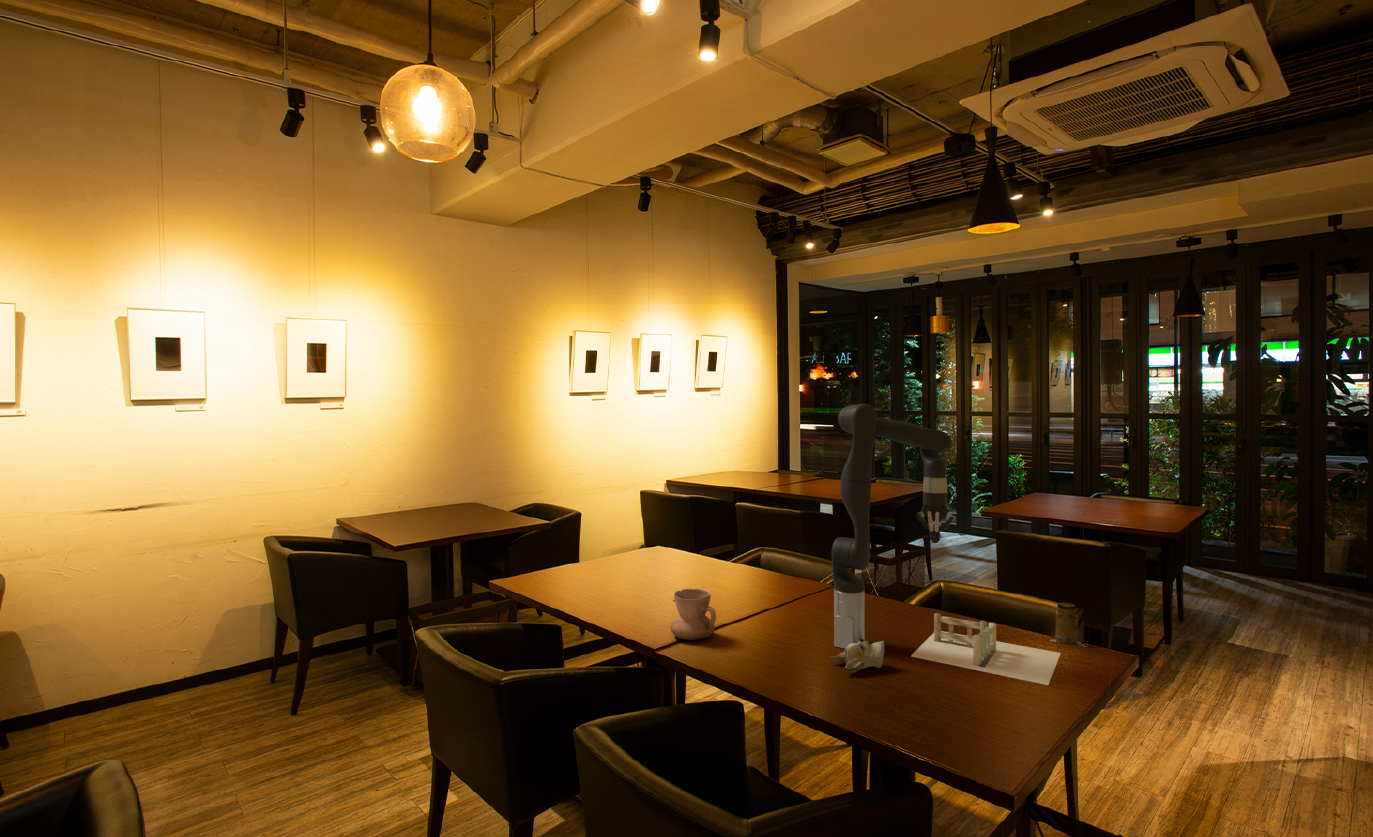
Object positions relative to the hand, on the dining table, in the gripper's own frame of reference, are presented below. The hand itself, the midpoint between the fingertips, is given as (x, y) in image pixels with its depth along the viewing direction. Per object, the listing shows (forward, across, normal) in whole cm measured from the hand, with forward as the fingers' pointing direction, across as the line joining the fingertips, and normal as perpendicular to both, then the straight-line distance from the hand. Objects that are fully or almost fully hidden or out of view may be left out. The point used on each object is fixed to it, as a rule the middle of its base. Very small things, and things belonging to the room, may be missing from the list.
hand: (935, 542), depth 221 cm
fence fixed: (+29, -11, +12) cm, 33 cm away
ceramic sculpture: (+29, +8, +46) cm, 55 cm away
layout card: (+29, -19, +16) cm, 38 cm away
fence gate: (+28, -19, +19) cm, 39 cm away
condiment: (+29, -38, -10) cm, 49 cm away
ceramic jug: (+29, +62, +52) cm, 86 cm away
